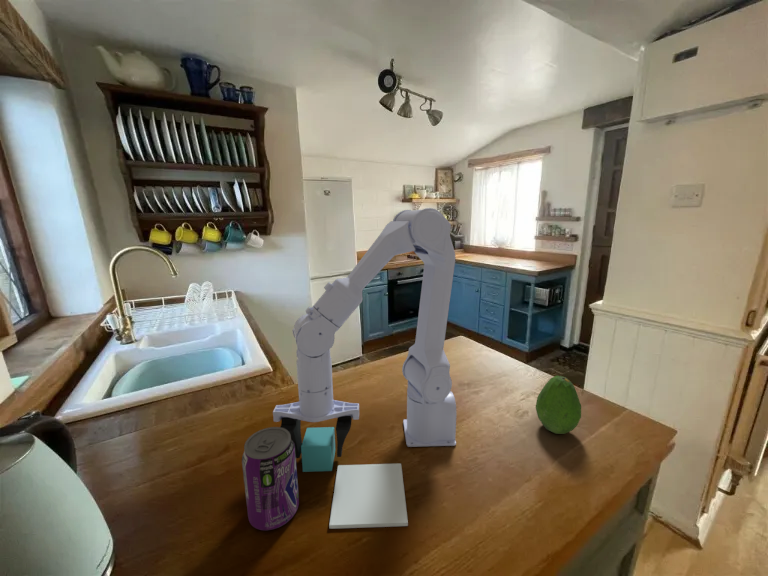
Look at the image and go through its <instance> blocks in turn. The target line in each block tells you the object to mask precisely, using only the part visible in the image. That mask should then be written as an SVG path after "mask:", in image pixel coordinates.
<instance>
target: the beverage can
mask: <svg viewBox="0 0 768 576" xmlns="http://www.w3.org/2000/svg"><path fill="white" fill-rule="evenodd" d="M243 449H244V451H243V454H242V456H241V457H242V458H241V464H242V465H241V466H242V473H243V484H244V493H245V500H246V501H245V502H246V507H247V508H246V509H247V517H248V518H247V519H248V521H249V524H250V525H251V526H252V528H255V529H257V530H260V531H272V530H275V529H278V528H280V527H282V526H284V525H286V524H287V523H288V522H289V521H290V520H291V519H292V518H293V517H294V516H295V514H296V513H297V511H298V509H299V507H300V506H299V505H300V494H299V483H298V471H297V470H298V468H297V458H296V454H295V445H294V442H293V441H292V439H291V435H290V433H289V431H288V430H286V429H284V428H281V427H280V426H270V427H266V428H263V429H259V430H258V431H256V432H254V433H253V434H251V435H250V436H249V437H248V438H247V439H246V441H245V442H244V447H243Z"/></svg>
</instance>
